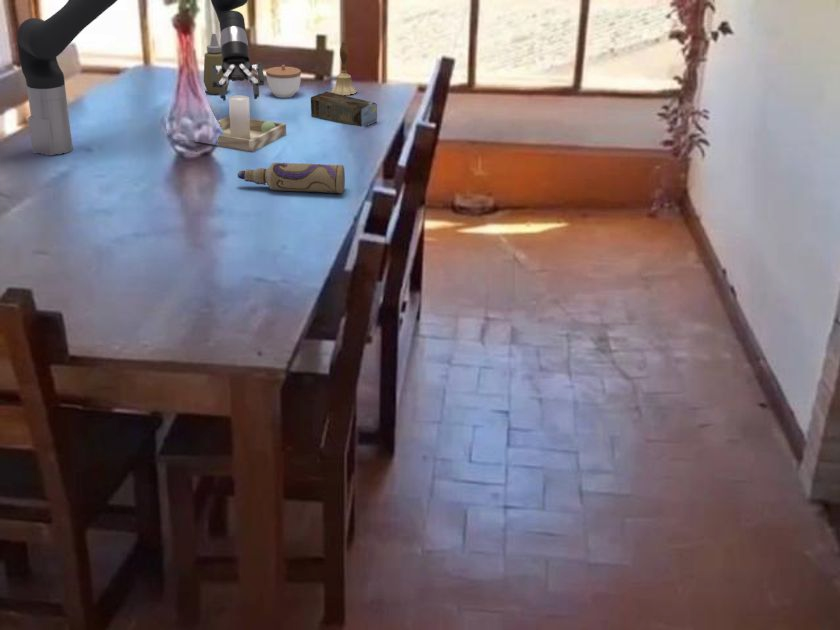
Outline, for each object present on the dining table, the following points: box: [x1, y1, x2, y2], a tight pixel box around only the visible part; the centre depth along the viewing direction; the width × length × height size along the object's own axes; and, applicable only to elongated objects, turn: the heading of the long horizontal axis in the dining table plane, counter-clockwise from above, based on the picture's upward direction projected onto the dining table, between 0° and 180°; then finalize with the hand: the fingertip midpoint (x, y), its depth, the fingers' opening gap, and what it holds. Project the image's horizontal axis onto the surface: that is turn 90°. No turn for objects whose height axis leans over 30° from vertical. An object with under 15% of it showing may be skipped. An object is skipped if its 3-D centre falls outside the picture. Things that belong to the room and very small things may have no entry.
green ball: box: [261, 120, 276, 133], centre depth 291 cm, size 4×4×4 cm
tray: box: [217, 115, 287, 153], centre depth 289 cm, size 18×18×4 cm
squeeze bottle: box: [203, 33, 230, 95], centre depth 330 cm, size 8×8×18 cm
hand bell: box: [331, 41, 358, 96], centre depth 334 cm, size 8×8×16 cm
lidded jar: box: [265, 64, 302, 99], centre depth 331 cm, size 11×11×9 cm
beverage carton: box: [310, 91, 378, 128], centre depth 309 cm, size 8×19×7 cm, turn 56°
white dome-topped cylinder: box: [228, 94, 251, 139], centre depth 287 cm, size 5×5×11 cm
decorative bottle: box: [237, 162, 346, 195], centre depth 254 cm, size 26×8×7 cm, turn 85°
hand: (240, 98), depth 292 cm, fingers open, 8 cm apart
